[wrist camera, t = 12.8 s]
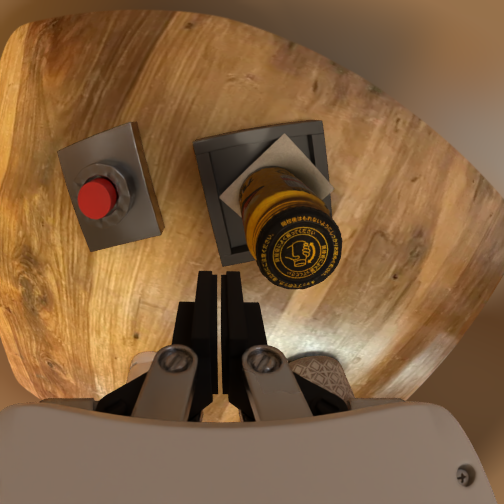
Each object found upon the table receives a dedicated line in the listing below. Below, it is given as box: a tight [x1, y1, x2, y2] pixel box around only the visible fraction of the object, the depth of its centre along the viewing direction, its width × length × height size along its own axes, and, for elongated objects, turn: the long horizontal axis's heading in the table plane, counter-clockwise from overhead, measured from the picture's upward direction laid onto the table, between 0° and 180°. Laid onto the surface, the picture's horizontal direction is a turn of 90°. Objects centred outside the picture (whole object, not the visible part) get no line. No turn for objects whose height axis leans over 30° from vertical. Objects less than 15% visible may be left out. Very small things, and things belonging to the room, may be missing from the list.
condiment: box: [219, 133, 342, 289], centre depth 21 cm, size 7×8×12 cm
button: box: [78, 178, 117, 219], centre depth 24 cm, size 4×4×2 cm
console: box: [57, 122, 165, 252], centre depth 26 cm, size 12×9×4 cm
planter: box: [288, 356, 355, 401], centre depth 40 cm, size 13×13×10 cm
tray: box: [193, 120, 332, 267], centre depth 28 cm, size 13×12×3 cm
